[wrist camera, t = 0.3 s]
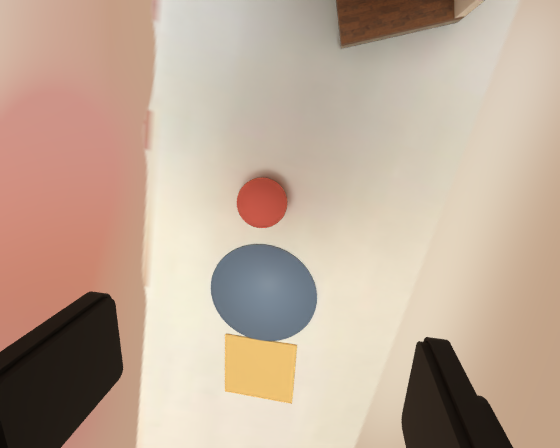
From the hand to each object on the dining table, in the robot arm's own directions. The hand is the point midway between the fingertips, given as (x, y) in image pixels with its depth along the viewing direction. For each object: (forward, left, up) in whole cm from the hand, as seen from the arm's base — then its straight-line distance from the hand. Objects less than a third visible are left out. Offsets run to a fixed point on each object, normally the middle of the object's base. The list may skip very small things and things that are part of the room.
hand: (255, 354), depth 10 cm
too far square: (+27, -5, -29) cm, 40 cm away
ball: (+2, -5, -26) cm, 27 cm away
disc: (+15, -5, -29) cm, 33 cm away
